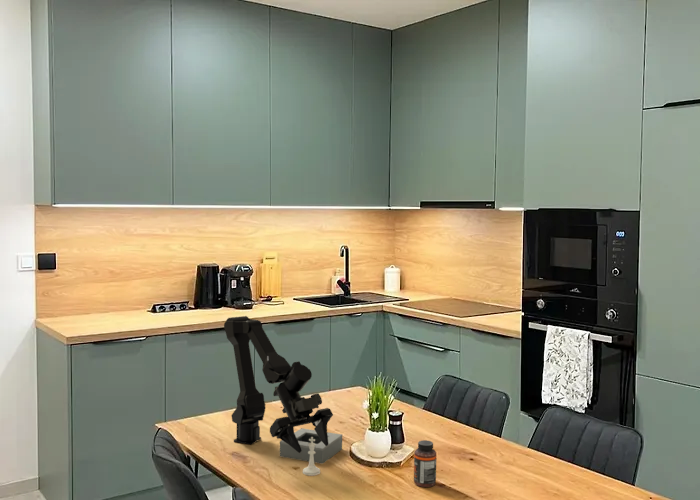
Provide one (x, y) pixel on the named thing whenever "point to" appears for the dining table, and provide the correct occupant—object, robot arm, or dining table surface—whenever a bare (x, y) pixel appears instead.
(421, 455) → the supplement bottle
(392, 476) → the dining table surface
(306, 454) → the gray square open box
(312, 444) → the chess piece
